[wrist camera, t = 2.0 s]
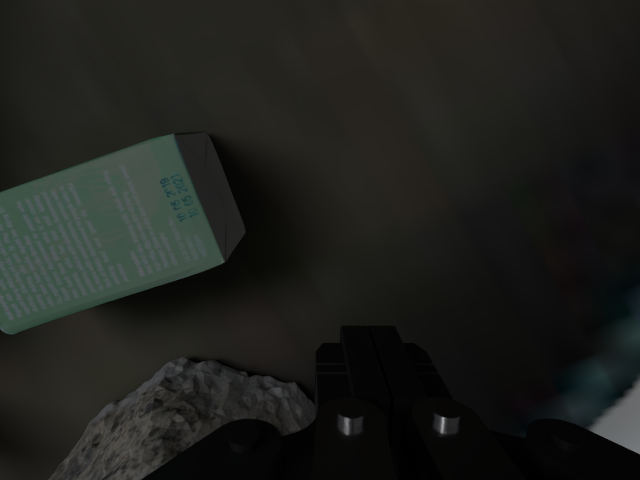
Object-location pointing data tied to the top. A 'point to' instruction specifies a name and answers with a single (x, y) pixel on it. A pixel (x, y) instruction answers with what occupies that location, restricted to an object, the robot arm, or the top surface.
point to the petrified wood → (179, 418)
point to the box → (114, 228)
